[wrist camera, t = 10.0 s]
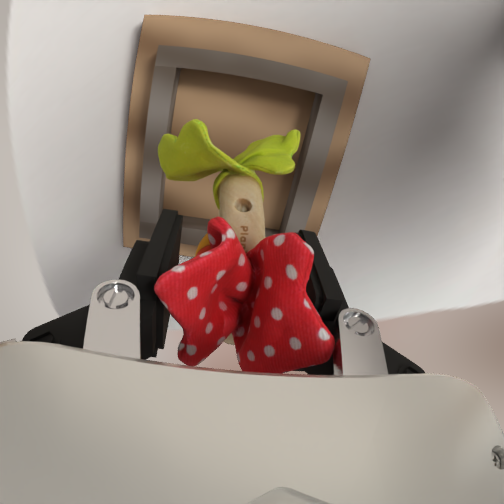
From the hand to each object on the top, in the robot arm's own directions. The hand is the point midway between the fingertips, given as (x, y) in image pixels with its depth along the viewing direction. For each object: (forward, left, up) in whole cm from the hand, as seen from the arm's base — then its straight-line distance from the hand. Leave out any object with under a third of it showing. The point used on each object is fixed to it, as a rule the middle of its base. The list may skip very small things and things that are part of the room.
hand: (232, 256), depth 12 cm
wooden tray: (0, 0, -16) cm, 16 cm away
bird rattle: (0, 0, -6) cm, 6 cm away
